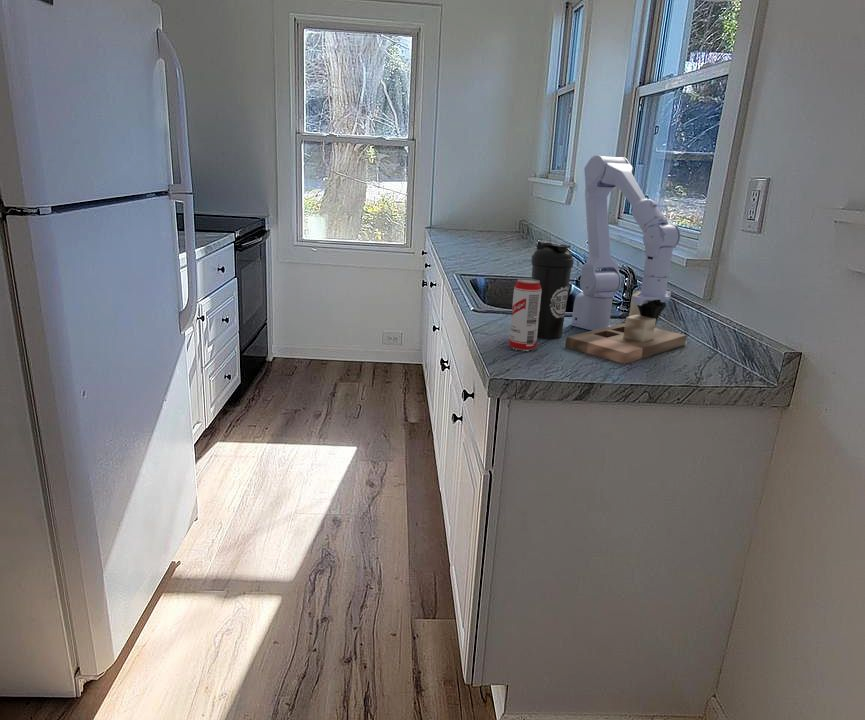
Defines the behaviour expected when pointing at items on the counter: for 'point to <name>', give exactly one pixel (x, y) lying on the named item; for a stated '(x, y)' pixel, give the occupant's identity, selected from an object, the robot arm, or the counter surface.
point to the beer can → (525, 314)
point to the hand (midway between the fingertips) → (647, 330)
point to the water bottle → (552, 286)
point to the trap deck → (623, 343)
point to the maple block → (639, 328)
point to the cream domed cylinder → (634, 306)
